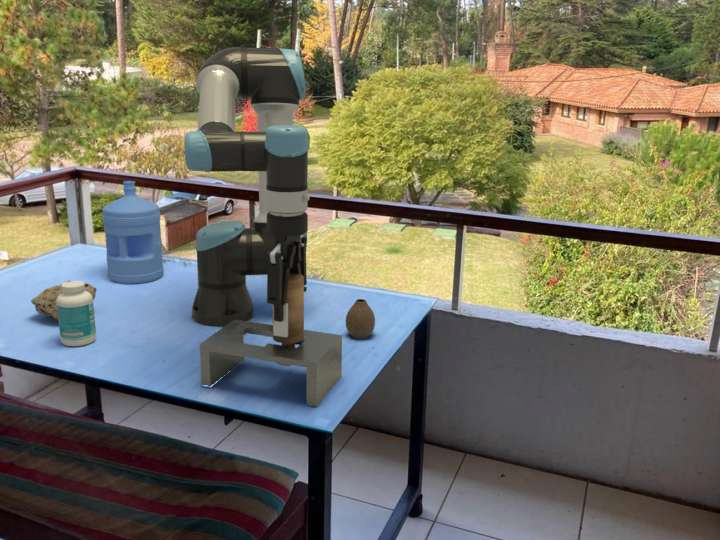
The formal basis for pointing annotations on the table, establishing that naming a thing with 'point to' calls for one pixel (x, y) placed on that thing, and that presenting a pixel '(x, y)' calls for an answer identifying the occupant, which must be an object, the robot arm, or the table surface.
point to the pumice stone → (54, 299)
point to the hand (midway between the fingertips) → (287, 329)
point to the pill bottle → (76, 314)
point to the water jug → (133, 238)
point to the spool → (293, 312)
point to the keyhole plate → (274, 355)
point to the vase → (360, 320)
